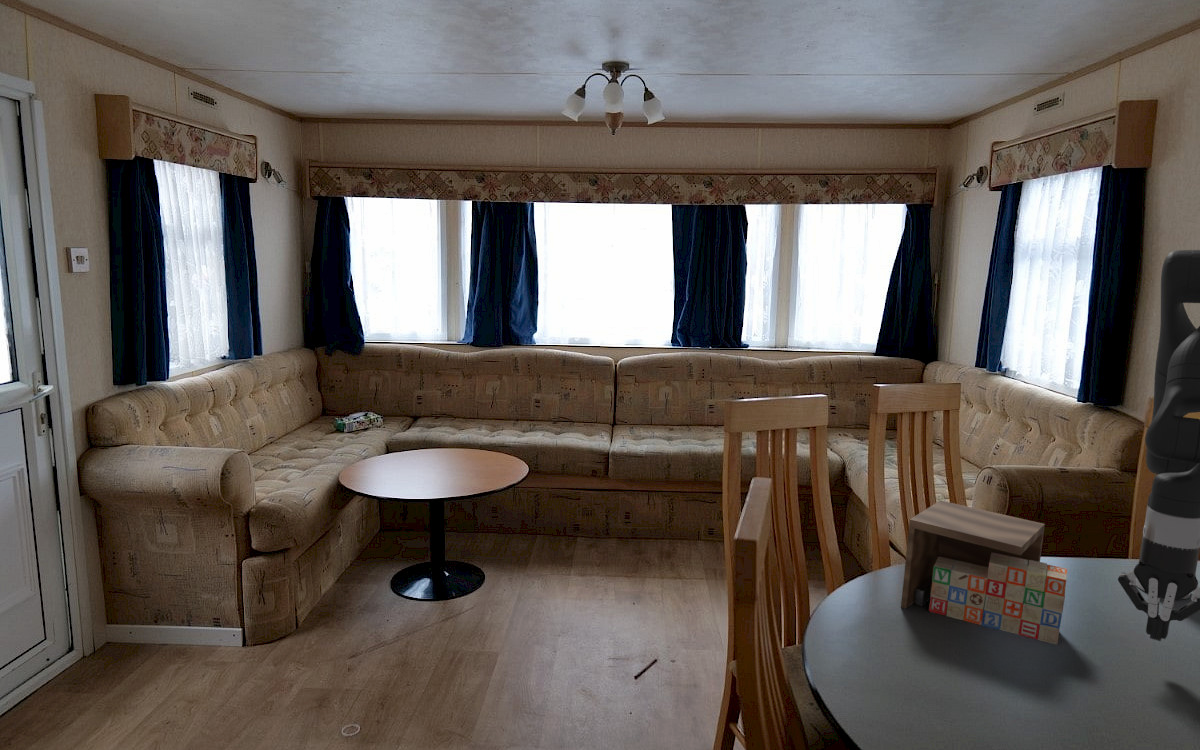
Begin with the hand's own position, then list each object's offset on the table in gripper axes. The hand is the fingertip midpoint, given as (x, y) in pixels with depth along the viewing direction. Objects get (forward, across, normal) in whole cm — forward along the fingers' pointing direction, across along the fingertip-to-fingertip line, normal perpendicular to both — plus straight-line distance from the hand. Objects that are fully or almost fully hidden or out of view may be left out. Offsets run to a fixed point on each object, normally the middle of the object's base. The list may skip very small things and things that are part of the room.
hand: (1155, 638), depth 128 cm
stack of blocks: (+5, +24, +2) cm, 25 cm away
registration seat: (+5, +36, +1) cm, 37 cm away
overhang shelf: (+5, +28, 0) cm, 29 cm away
